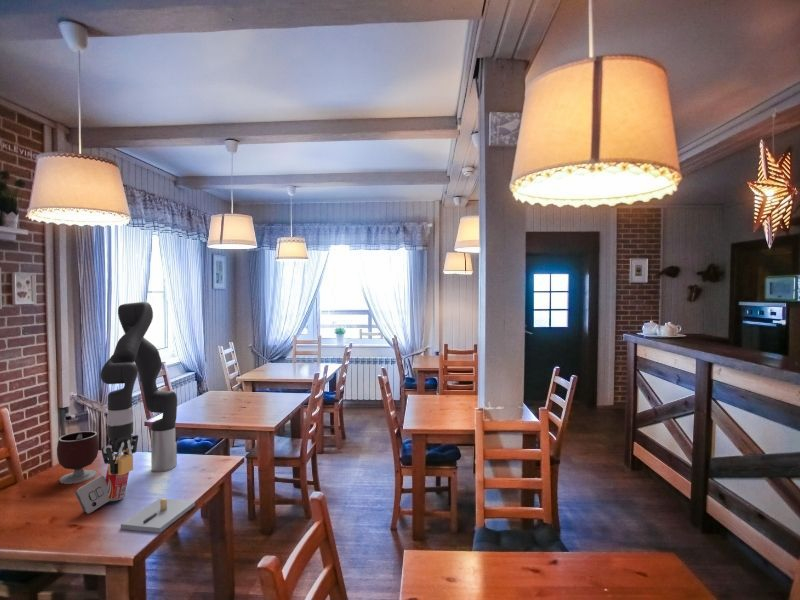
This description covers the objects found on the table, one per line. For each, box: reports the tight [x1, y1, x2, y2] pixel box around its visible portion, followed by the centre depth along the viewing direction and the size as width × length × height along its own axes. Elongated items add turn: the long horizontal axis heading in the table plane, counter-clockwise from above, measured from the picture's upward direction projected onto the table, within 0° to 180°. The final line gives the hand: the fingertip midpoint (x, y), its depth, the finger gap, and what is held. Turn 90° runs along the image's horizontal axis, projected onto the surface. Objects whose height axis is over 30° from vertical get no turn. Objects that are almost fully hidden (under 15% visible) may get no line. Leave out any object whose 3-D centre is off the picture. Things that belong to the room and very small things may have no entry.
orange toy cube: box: [108, 453, 134, 475], centre depth 152 cm, size 5×5×5 cm
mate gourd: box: [56, 430, 100, 485], centre depth 182 cm, size 16×14×20 cm
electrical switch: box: [74, 475, 111, 514], centre depth 157 cm, size 9×5×9 cm, turn 160°
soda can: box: [104, 465, 130, 502], centre depth 164 cm, size 7×7×13 cm
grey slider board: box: [120, 497, 196, 533], centre depth 152 cm, size 18×14×5 cm
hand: (120, 470), depth 153 cm, fingers closed on orange toy cube, 5 cm apart
